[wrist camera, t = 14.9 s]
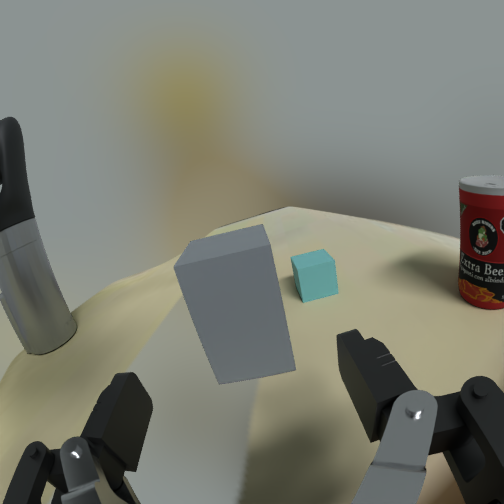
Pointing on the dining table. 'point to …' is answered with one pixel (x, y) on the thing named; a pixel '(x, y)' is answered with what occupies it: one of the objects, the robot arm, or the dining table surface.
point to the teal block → (315, 275)
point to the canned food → (482, 241)
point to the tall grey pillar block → (236, 304)
